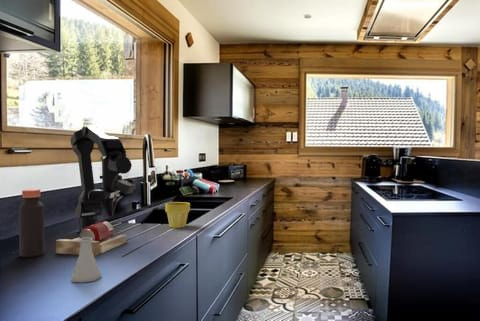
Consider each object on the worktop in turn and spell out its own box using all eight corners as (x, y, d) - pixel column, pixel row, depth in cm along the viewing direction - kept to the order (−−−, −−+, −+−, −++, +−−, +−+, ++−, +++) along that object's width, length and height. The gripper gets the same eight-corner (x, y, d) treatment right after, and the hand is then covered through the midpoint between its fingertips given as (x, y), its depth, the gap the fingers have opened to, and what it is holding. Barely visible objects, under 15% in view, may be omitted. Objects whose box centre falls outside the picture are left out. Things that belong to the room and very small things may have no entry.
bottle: (14, 256, 115) (13, 190, 114) (33, 251, 121) (32, 188, 121) (31, 258, 112) (30, 191, 112) (49, 252, 119) (48, 189, 118)
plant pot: (194, 225, 163) (194, 202, 163) (181, 229, 154) (180, 205, 153) (175, 223, 167) (174, 201, 167) (160, 227, 158) (160, 204, 158)
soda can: (109, 217, 136) (90, 224, 124) (118, 234, 136) (99, 242, 124) (94, 226, 137) (74, 233, 125) (103, 242, 137) (83, 251, 125)
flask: (76, 274, 98) (76, 235, 98) (105, 273, 98) (104, 235, 98) (65, 284, 91) (65, 242, 90) (97, 283, 91) (96, 241, 91)
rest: (56, 253, 118) (55, 240, 118) (90, 240, 136) (90, 229, 136) (95, 255, 115) (95, 242, 115) (126, 242, 133) (126, 230, 133)
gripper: (117, 174, 125) (117, 221, 125) (143, 171, 143) (143, 212, 143) (87, 174, 127) (87, 220, 128) (116, 171, 145) (117, 211, 146)
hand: (111, 216), depth 136 cm, fingers closed
